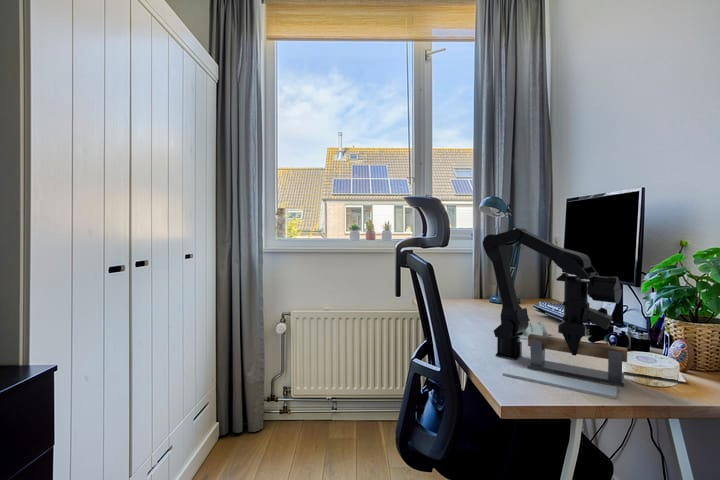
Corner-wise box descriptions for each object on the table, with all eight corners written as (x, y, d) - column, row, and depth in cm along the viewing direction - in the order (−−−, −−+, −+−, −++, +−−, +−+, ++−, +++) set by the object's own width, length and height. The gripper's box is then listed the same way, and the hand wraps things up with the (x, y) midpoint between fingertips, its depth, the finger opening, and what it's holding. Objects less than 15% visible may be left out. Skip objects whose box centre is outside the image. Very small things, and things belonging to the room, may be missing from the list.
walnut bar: (527, 346, 113) (528, 335, 112) (530, 343, 115) (530, 333, 115) (627, 362, 99) (627, 350, 99) (627, 359, 101) (627, 348, 101)
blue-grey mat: (502, 375, 105) (502, 372, 105) (509, 367, 111) (509, 365, 111) (616, 399, 90) (616, 396, 90) (616, 389, 96) (616, 386, 96)
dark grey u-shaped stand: (527, 368, 111) (528, 339, 111) (532, 361, 116) (533, 333, 116) (624, 386, 98) (624, 353, 97) (624, 378, 103) (624, 347, 103)
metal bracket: (508, 317, 154) (548, 318, 151) (507, 329, 155) (547, 332, 152) (514, 335, 140) (558, 338, 137) (513, 349, 142) (556, 352, 139)
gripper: (608, 306, 94) (607, 369, 95) (611, 296, 110) (610, 350, 110) (558, 301, 101) (557, 360, 101) (567, 293, 116) (566, 343, 116)
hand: (574, 353), depth 107 cm, fingers closed on walnut bar, 3 cm apart
